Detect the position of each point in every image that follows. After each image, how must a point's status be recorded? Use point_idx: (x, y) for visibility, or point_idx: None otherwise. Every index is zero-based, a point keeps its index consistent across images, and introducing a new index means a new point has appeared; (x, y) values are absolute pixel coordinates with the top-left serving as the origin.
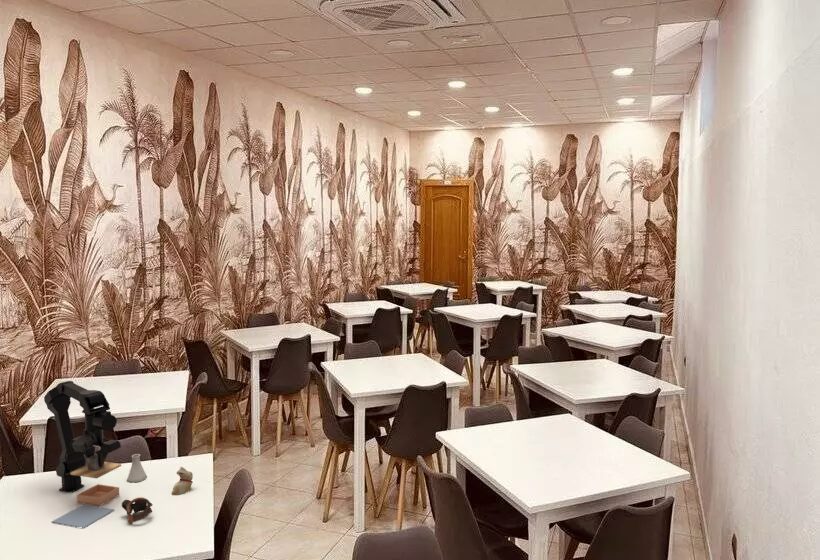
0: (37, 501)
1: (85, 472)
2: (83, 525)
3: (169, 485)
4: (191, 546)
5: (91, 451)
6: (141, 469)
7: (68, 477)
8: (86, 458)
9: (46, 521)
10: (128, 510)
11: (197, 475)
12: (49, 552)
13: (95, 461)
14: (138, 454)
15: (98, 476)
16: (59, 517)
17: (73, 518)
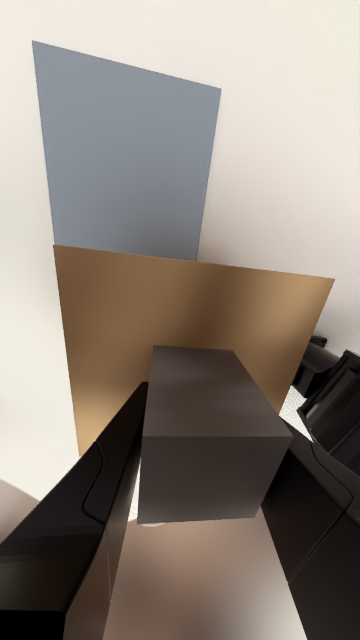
0: (354, 264)
1: (216, 302)
2: (52, 69)
3: (43, 423)
4: None
5: (314, 568)
6: (140, 460)
7: (328, 363)
8: (302, 435)
9: (247, 104)
10: None
11: (24, 474)
12: None
13: (152, 405)
14: (152, 524)
15: (60, 266)
16: (211, 139)
17: (150, 140)
